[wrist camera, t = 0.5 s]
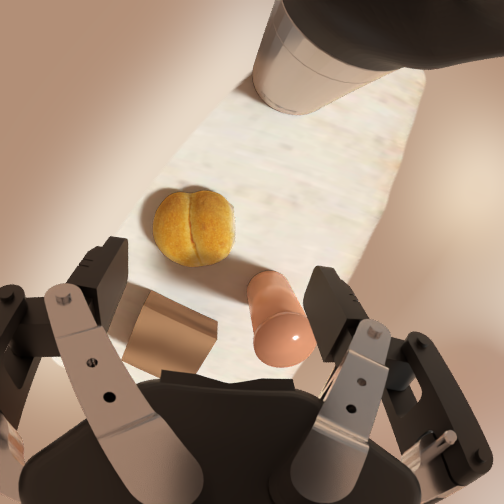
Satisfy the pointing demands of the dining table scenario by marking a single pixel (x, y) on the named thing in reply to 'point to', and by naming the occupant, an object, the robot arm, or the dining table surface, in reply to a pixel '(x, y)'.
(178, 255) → the bread roll
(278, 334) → the jar
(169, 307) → the plinth
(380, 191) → the dining table surface
